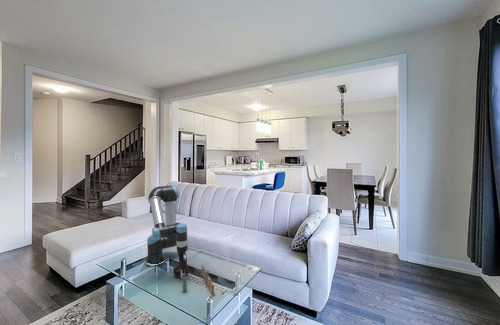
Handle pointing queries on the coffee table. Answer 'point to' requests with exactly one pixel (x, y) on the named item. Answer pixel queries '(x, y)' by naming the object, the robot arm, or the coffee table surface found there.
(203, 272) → the gate
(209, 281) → the fence
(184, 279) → the posts
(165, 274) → the coffee table surface
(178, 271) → the rock
